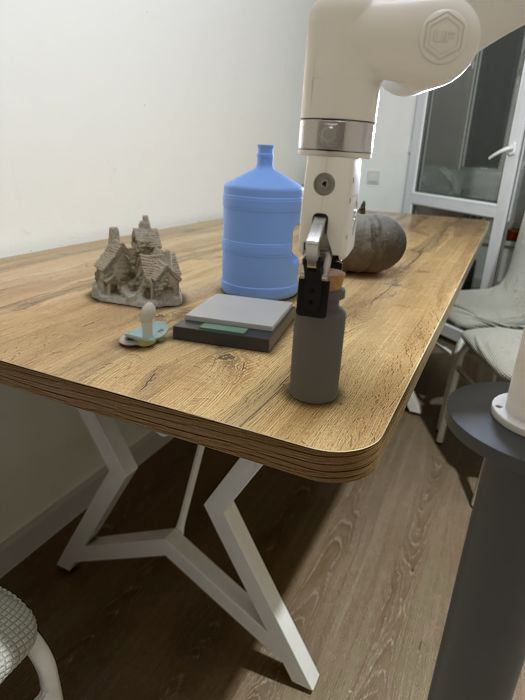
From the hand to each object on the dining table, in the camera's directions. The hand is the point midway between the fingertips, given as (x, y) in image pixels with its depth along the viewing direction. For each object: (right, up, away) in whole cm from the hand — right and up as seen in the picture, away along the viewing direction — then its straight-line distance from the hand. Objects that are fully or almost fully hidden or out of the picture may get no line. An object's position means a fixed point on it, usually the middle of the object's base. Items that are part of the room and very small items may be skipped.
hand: (318, 304), depth 59 cm
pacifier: (-24, -4, +18) cm, 30 cm away
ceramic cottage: (-30, +5, +39) cm, 50 cm away
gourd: (+16, +15, +73) cm, 76 cm away
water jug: (-7, +7, +47) cm, 48 cm away
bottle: (0, -11, +4) cm, 11 cm away
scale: (-10, -1, +26) cm, 28 cm away
